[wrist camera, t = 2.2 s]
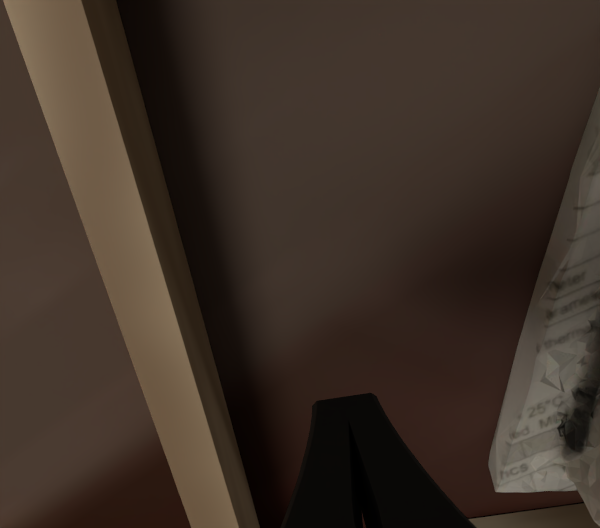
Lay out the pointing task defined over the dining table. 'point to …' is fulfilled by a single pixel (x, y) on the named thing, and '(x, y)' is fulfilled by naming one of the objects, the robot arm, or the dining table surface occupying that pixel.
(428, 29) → the dining table surface
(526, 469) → the packaged product
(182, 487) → the beige wooden frame
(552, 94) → the dining table surface
